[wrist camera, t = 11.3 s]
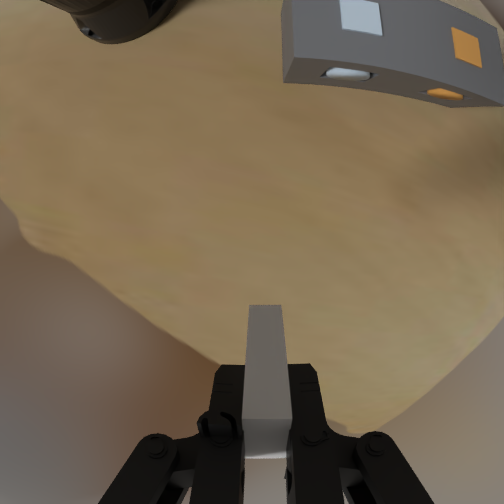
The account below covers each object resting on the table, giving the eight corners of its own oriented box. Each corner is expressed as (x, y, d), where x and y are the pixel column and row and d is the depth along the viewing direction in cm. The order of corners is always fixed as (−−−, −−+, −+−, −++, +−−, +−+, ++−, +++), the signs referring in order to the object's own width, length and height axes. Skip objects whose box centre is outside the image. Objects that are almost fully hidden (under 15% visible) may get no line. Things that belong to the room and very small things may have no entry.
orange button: (419, 66, 25) (438, 59, 21) (447, 75, 25) (468, 70, 20) (420, 93, 26) (440, 89, 22) (449, 101, 26) (470, 99, 22)
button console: (280, 13, 27) (289, -35, 16) (445, 45, 26) (498, 27, 15) (283, 82, 31) (294, 56, 19) (450, 107, 30) (508, 106, 19)
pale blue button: (321, 49, 25) (330, 36, 21) (360, 54, 25) (374, 43, 21) (322, 77, 26) (332, 69, 22) (361, 82, 26) (376, 75, 22)
